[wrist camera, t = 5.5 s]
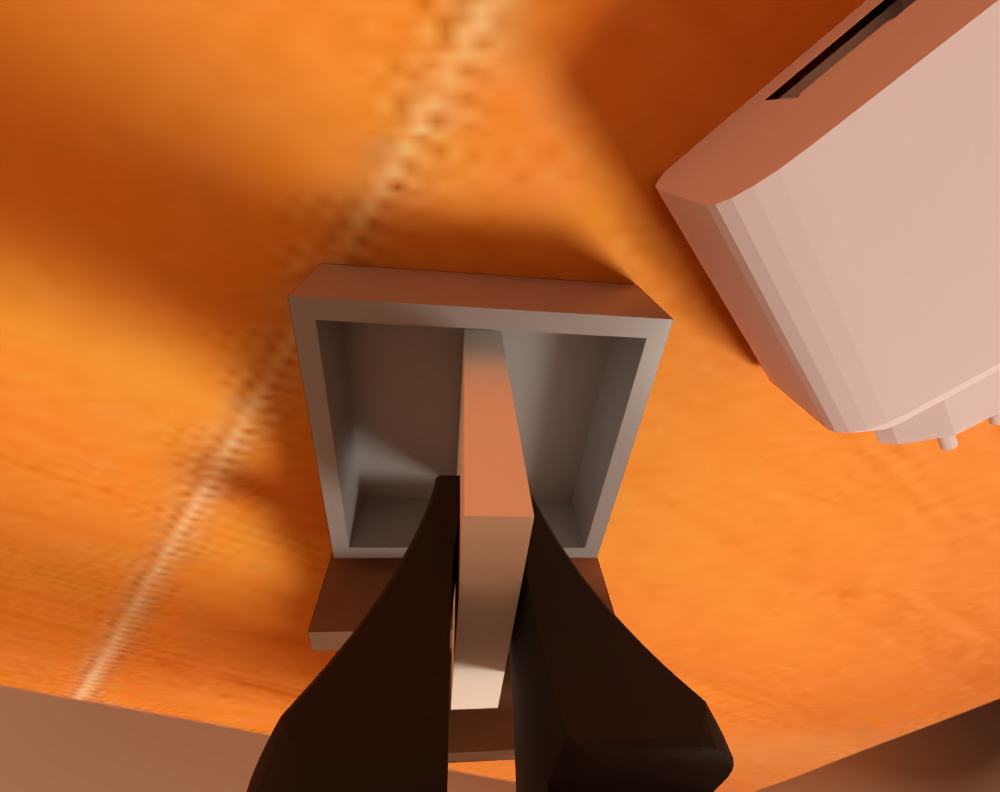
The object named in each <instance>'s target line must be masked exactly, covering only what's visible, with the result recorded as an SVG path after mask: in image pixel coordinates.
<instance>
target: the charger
mask: <svg viewBox="0 0 1000 792" xmlns="http://www.w3.org/2000/svg"><path fill="white" fill-rule="evenodd" d="M882 1H884V0H866V1H865V2H864V3H862V4H861V5H860V6H859V7H858V8H856V9H855V10H854V11H853V12H852V13H851V14H849V15H848V16H847V17H846V18H845V19H844V20H842V21H841V22H840V23H839V24H838V25H836V26H835V27H834V28H833V29H832V30H831V31H829V32H828V33H827V34H826V35H825V36H823V37H822V38H821V39H820V40H819V41H818V42H816V43H815V44H814V45H813V46H812V47H810V48H809V49H808V50H807V51H806V52H805V53H803V54H802V55H801V56H800V57H799V58H798V59H796V60H795V61H794V62H793V63H792V64H790V65H789V66H788V67H787V68H786V69H785V70H783V71H782V72H781V73H780V74H779V75H777V76H776V77H775V78H774V79H773V80H772V81H770V82H769V83H768V84H767V85H766V86H764V87H763V88H762V89H761V90H760V91H759V92H757V93H756V94H755V95H754V96H753V97H752V98H750V99H749V100H748V101H747V102H746V103H744V104H743V105H742V106H741V107H740V108H739V109H737V110H736V111H735V112H734V113H733V114H731V115H730V116H729V117H728V118H727V119H726V120H724V121H723V122H722V123H721V124H720V125H718V126H717V127H716V128H715V129H714V130H713V131H711V132H710V133H709V134H708V135H707V136H706V137H704V138H703V139H702V140H701V141H700V142H699V143H697V144H696V145H695V146H694V147H693V148H691V149H690V150H689V151H688V152H687V153H686V154H685V155H683V156H682V157H681V158H680V159H679V160H678V161H676V162H675V163H674V164H673V165H672V166H671V167H669V168H668V169H667V170H666V171H665V172H664V173H663V175H662V176H661V177H660V178H659V180H658V181H657V183H656V185H655V186H656V189H657V191H658V193H659V194H660V196H661V198H662V199H663V201H664V203H665V204H666V206H667V208H668V209H669V211H670V213H671V214H672V216H673V218H674V220H675V221H676V223H677V225H678V226H679V228H680V230H681V231H682V233H683V235H684V236H685V238H686V240H687V241H688V243H689V245H690V246H691V248H692V250H693V252H694V253H695V255H696V257H697V258H698V260H699V262H700V263H701V265H702V267H703V268H704V270H705V272H706V273H707V275H708V277H709V279H710V280H711V282H712V284H713V285H714V287H715V289H716V290H717V292H718V294H719V295H720V297H721V299H722V300H723V302H724V304H725V306H726V307H727V309H728V311H729V312H730V314H731V316H732V317H733V319H734V321H735V322H736V324H737V326H738V327H739V329H740V331H741V333H742V334H743V336H744V338H745V339H746V341H747V343H748V344H749V346H750V348H751V349H752V351H753V353H754V354H755V356H756V358H757V360H758V361H759V363H760V365H761V366H762V368H763V370H764V371H765V373H766V375H767V376H768V378H769V380H770V381H771V382H772V383H773V384H775V385H776V386H777V387H778V388H779V389H781V390H782V391H783V392H784V393H785V394H786V395H788V396H789V397H790V398H791V399H792V400H794V401H795V402H796V403H797V404H798V405H800V406H801V407H802V408H803V409H804V410H806V411H807V412H808V413H809V414H810V415H811V416H813V417H814V418H815V419H816V420H817V421H819V422H820V423H821V424H822V425H823V426H825V427H826V428H827V429H829V430H832V431H834V432H846V433H851V432H865V431H875V433H876V436H877V438H878V440H879V442H880V443H889V444H905V443H911V442H917V441H923V440H930V439H936V438H937V439H938V442H939V445H940V448H941V449H943V450H953V449H955V448H956V447H957V446H958V442H957V439H956V436H955V435H957V434H959V433H961V432H963V431H965V430H967V429H969V428H970V427H972V426H974V425H976V424H978V423H980V422H982V421H984V420H986V419H989V422H990V424H992V425H1000V0H897V1H895V2H894V3H893V4H892V5H891V6H889V7H888V8H887V9H886V10H885V11H883V12H882V13H881V14H880V15H878V16H877V17H876V18H875V19H874V20H872V21H871V22H870V23H869V24H868V25H866V26H865V27H864V28H863V29H862V30H860V31H859V32H858V33H857V34H856V35H854V36H853V37H852V38H851V39H850V40H848V41H847V42H846V43H845V44H844V45H842V46H841V47H840V48H839V49H838V50H836V51H835V52H834V53H833V54H832V55H830V56H829V57H828V58H827V59H826V60H824V61H823V62H822V63H821V64H820V65H818V66H817V67H816V68H815V69H814V70H812V71H811V72H810V73H809V74H807V75H806V76H805V77H804V78H803V79H801V80H800V81H799V82H798V83H797V84H795V85H794V86H793V87H792V88H791V89H789V90H788V91H787V92H786V93H785V94H783V95H782V96H781V97H780V98H779V99H775V100H766V99H767V98H768V97H769V96H770V95H771V94H773V93H774V92H775V91H776V90H777V89H779V88H780V87H781V86H782V85H783V84H785V83H786V82H787V81H788V80H789V79H791V78H792V77H793V76H794V75H795V74H796V73H798V72H799V71H800V70H801V69H802V68H804V67H805V66H806V65H807V64H808V63H810V62H811V61H812V60H813V59H814V58H816V57H817V56H818V55H819V54H820V53H822V52H823V51H824V50H825V49H826V48H827V47H829V46H830V45H831V44H832V43H833V42H835V41H836V40H837V39H838V38H839V37H841V36H842V35H843V34H844V33H845V32H847V31H848V30H849V29H850V28H851V27H853V26H854V25H855V24H856V23H857V22H858V21H860V20H861V19H862V18H863V17H864V16H866V15H867V14H868V13H869V12H870V11H872V10H873V9H874V8H875V7H876V6H878V5H879V4H880V3H881V2H882Z"/></svg>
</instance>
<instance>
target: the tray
mask: <svg viewBox="0 0 1000 792" xmlns="http://www.w3.org/2000/svg"><path fill="white" fill-rule="evenodd" d="M288 302H289V307H290V313H291V319H292V324H293V330H294V335H295V341H296V347H297V352H298V358H299V364H300V369H301V375H302V380H303V386H304V392H305V397H306V403H307V409H308V414H309V420H310V426H311V431H312V437H313V442H314V448H315V454H316V459H317V465H318V471H319V476H320V482H321V488H322V493H323V499H324V504H325V510H326V516H327V521H328V527H329V533H330V538H331V544H332V549H333V555H334V558H403V556H404V554H405V552H406V550H407V549H408V547H409V545H410V543H411V541H412V539H413V537H414V535H415V533H416V531H417V529H418V527H419V525H420V522H421V520H422V518H423V516H424V514H425V511H426V509H427V506H428V503H429V501H430V498H431V495H432V492H433V488H434V485H435V479H436V478H437V477H438V476H439V475H457V458H458V439H459V420H460V401H461V382H462V364H463V345H464V329H474V330H491V331H501V335H502V340H503V346H504V352H505V357H506V363H507V368H508V374H509V379H510V385H511V390H512V396H513V402H514V407H515V413H516V418H517V424H518V429H519V435H520V440H521V446H522V452H523V457H524V463H525V468H526V474H527V479H528V485H529V489H530V491H531V493H532V495H533V497H534V499H535V501H536V503H537V505H538V507H539V509H540V511H541V512H542V514H543V516H544V518H545V520H546V521H547V523H548V525H549V526H550V528H551V530H552V531H553V533H554V535H555V536H556V538H557V540H558V541H559V543H560V544H561V546H562V547H563V549H564V550H565V552H566V553H567V555H568V556H569V558H597V555H598V552H599V549H600V546H601V543H602V540H603V537H604V534H605V530H606V527H607V524H608V521H609V518H610V515H611V512H612V509H613V506H614V503H615V499H616V496H617V493H618V490H619V487H620V484H621V481H622V478H623V475H624V472H625V468H626V465H627V462H628V459H629V456H630V453H631V450H632V447H633V444H634V441H635V437H636V434H637V431H638V428H639V425H640V422H641V419H642V416H643V413H644V410H645V406H646V403H647V400H648V397H649V394H650V391H651V388H652V385H653V382H654V379H655V375H656V372H657V369H658V366H659V363H660V360H661V357H662V354H663V351H664V348H665V344H666V341H667V338H668V335H669V332H670V329H671V326H672V323H673V320H674V319H672V318H671V317H670V316H669V315H668V314H667V313H666V312H665V311H664V310H663V309H662V308H661V307H660V306H659V305H658V304H657V303H655V302H654V301H653V300H652V299H651V298H650V297H649V296H648V295H647V294H646V293H645V292H644V291H643V290H642V289H641V288H640V287H639V286H637V285H630V284H615V283H601V282H586V281H571V280H557V279H542V278H528V277H513V276H499V275H484V274H469V273H455V272H440V271H426V270H411V269H397V268H382V267H368V266H353V265H338V264H324V263H321V264H320V265H319V266H318V267H317V268H316V269H315V270H314V271H313V272H312V273H311V274H310V275H309V276H308V277H307V278H306V279H305V280H304V281H303V282H302V283H300V284H299V285H298V286H297V287H296V288H295V289H294V290H293V291H292V292H291V293H290V294H289V295H288Z"/></svg>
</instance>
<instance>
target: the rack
mask: <svg viewBox="0 0 1000 792" xmlns="http://www.w3.org/2000/svg"><path fill="white" fill-rule="evenodd" d="M328 532H329V527H328ZM329 537H330V533H329ZM330 543H331V538H330ZM331 549H332V544H331ZM570 559H571V561H572V562H573V563H574V565H575V566H576V568H577V569H578V570H579V572H580V573H581V575H582V576H583V577H584V579H585V580H586V581H587V582H588V584H589V585H590V586H591V587H592V589H593V590H594V591H595V592H596V594H597V595H598V596H599V597H600V599H601V600H602V601H603V602H604V603H605V604H606V606H607V607H608V608H609V609H610V610H611V611H612V613H613V614H614V611H613V607H612V604H611V601H610V598H609V594H608V591H607V588H606V585H605V581H604V578H603V575H602V571H601V568H600V565H599V562H598V558H570ZM401 560H402V558H334V555H333V549H332V555H331V558H330V562H329V565H328V568H327V571H326V575H325V578H324V581H323V584H322V588H321V591H320V594H319V597H318V601H317V604H316V607H315V610H314V614H313V617H312V620H311V624H310V627H309V630H308V635H309V639H310V643H311V647H312V650H313V651H338V650H339V649H340V648H341V647H342V646H343V644H344V643H345V642H346V641H347V639H348V638H349V637H350V636H351V635H352V633H353V632H354V631H355V629H356V628H357V627H358V625H359V624H360V623H361V621H362V620H363V618H364V617H365V616H366V614H367V613H368V611H369V610H370V609H371V607H372V606H373V604H374V603H375V601H376V600H377V599H378V597H379V596H380V594H381V593H382V591H383V589H384V588H385V586H386V585H387V583H388V582H389V580H390V578H391V577H392V575H393V574H394V572H395V570H396V568H397V567H398V565H399V563H400V562H401ZM614 615H615V614H614ZM452 638H453V609H452V618H451V630H450V678H449V732H448V763H456V762H475V761H495V760H514V759H515V745H514V724H513V704H512V686H511V669H510V653H509V652H508V657H507V662H506V667H505V673H504V678H503V683H502V688H501V694H500V699H499V704H498V708H481V709H454V710H451V682H452Z"/></svg>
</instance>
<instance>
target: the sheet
mask: <svg viewBox="0 0 1000 792" xmlns="http://www.w3.org/2000/svg"><path fill="white" fill-rule="evenodd" d="M457 475H458V476H460V516H459V532H458V549H457V566H456V582H455V591H454V600H453V638H452V682H451V710H454V709H481V708H498V704H499V699H500V694H501V688H502V683H503V678H504V673H505V667H506V662H507V657H508V652H509V646H510V641H511V636H512V631H513V625H514V620H515V615H516V610H517V604H518V599H519V594H520V589H521V583H522V578H523V573H524V568H525V562H526V557H527V552H528V547H529V542H530V536H531V531H532V526H533V521H534V513H533V507H532V502H531V496H530V491H529V485H528V479H527V474H526V468H525V463H524V457H523V452H522V446H521V440H520V435H519V429H518V424H517V418H516V413H515V407H514V402H513V396H512V390H511V385H510V379H509V374H508V368H507V363H506V357H505V352H504V346H503V340H502V335H501V331H491V330H474V329H464V345H463V364H462V382H461V401H460V420H459V439H458V458H457Z"/></svg>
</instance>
